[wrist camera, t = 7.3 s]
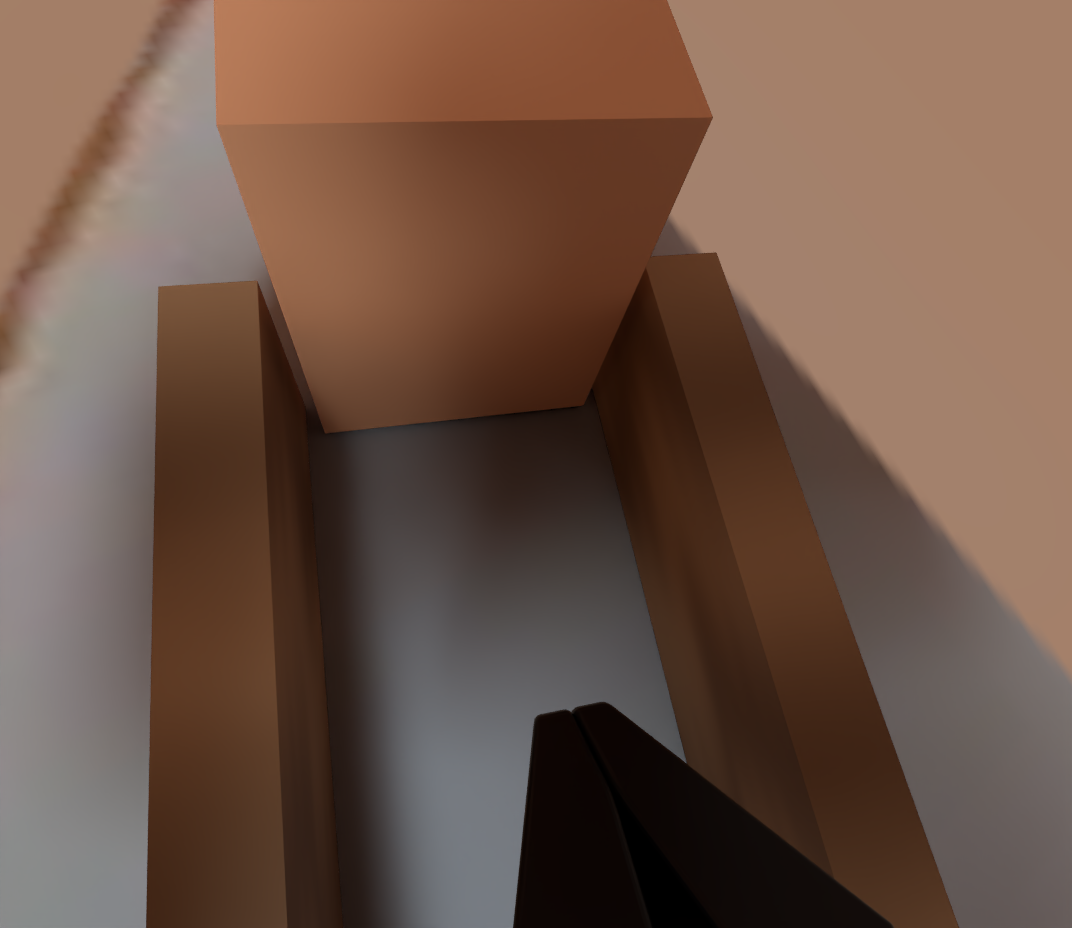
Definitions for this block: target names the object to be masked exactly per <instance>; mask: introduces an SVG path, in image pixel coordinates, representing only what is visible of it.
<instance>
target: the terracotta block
mask: <svg viewBox="0 0 1072 928" xmlns="http://www.w3.org/2000/svg"><path fill="white" fill-rule="evenodd" d="M214 30H215V76H216V122H217V128H218V130H219V133H220V136H221V139H222V142H223V145H224V147H225V150H226V153H227V156H228V159H229V162H230V165H231V167H232V170H233V173H234V176H235V179H236V182H237V184H238V187H239V190H240V193H241V196H242V199H243V202H244V204H245V207H246V210H247V213H248V216H249V219H250V221H251V224H252V227H253V230H254V233H255V236H256V239H257V241H258V244H259V247H260V250H261V253H262V256H263V258H264V261H265V264H266V267H267V270H268V273H269V275H270V278H271V281H272V284H273V287H274V290H275V293H276V295H277V298H278V301H279V304H280V307H281V310H282V312H283V315H284V318H285V321H286V324H287V327H288V330H289V332H290V335H291V338H292V341H293V344H294V347H295V349H296V352H297V355H298V358H299V361H300V364H301V367H302V369H303V372H304V375H305V378H306V381H307V384H308V386H309V389H310V392H311V395H312V398H313V401H314V404H315V406H316V409H317V412H318V415H319V418H320V421H321V423H322V426H323V429H324V432H325V433H333V432H343V431H352V430H361V429H370V428H380V427H389V426H398V425H407V424H417V423H426V422H435V421H444V420H454V419H463V418H472V417H481V416H491V415H500V414H509V413H518V412H528V411H537V410H546V409H555V408H564V407H574V406H583V405H584V403H585V401H586V399H587V397H588V394H589V392H590V390H591V388H592V385H593V383H594V381H595V379H596V377H597V374H598V372H599V370H600V368H601V365H602V363H603V361H604V359H605V356H606V354H607V352H608V350H609V348H610V345H611V343H612V341H613V339H614V336H615V334H616V332H617V330H618V328H619V325H620V323H621V321H622V319H623V316H624V314H625V312H626V310H627V307H628V305H629V303H630V301H631V299H632V296H633V294H634V292H635V290H636V287H637V285H638V283H639V281H640V279H641V276H642V274H643V272H644V270H645V267H646V265H647V263H648V261H649V259H650V256H651V254H652V252H653V250H654V247H655V245H656V243H657V241H658V238H659V236H660V234H661V232H662V230H663V227H664V225H665V223H666V221H667V218H668V216H669V214H670V212H671V209H672V207H673V205H674V203H675V200H676V198H677V196H678V194H679V192H680V189H681V187H682V185H683V183H684V181H685V178H686V176H687V174H688V172H689V169H690V167H691V165H692V163H693V161H694V158H695V156H696V154H697V152H698V149H699V147H700V145H701V143H702V140H703V138H704V136H705V134H706V132H707V129H708V127H709V125H710V123H711V120H712V118H713V117H712V114H711V111H710V109H709V107H708V104H707V101H706V99H705V96H704V94H703V91H702V88H701V86H700V84H699V81H698V78H697V76H696V73H695V71H694V68H693V66H692V63H691V61H690V58H689V55H688V53H687V50H686V48H685V45H684V43H683V40H682V38H681V35H680V33H679V30H678V28H677V25H676V22H675V20H674V17H673V15H672V12H671V10H670V7H669V5H668V2H667V0H214Z"/></svg>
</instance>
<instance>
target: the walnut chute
mask: <svg viewBox="0 0 1072 928" xmlns="http://www.w3.org/2000/svg"><path fill="white" fill-rule="evenodd" d="M592 388H593V392H594V396H595V400H596V404H597V408H598V412H599V416H600V420H601V424H602V428H603V432H604V436H605V440H606V444H607V448H608V451H609V455H610V459H611V463H612V467H613V471H614V475H615V479H616V483H617V487H618V491H619V495H620V499H621V503H622V507H623V511H624V515H625V519H626V523H627V527H628V531H629V535H630V539H631V543H632V547H633V551H634V555H635V559H636V563H637V567H638V571H639V575H640V578H641V582H642V586H643V590H644V594H645V598H646V602H647V606H648V610H649V614H650V618H651V622H652V626H653V630H654V634H655V638H656V642H657V646H658V650H659V654H660V658H661V662H662V666H663V670H664V674H665V678H666V682H667V686H668V690H669V694H670V698H671V701H672V705H673V709H674V713H675V717H676V721H677V725H678V729H679V733H680V737H681V741H682V745H683V749H684V753H685V757H686V761H687V764H688V765H689V766H690V767H691V768H693V769H694V770H695V771H697V772H698V773H699V774H700V775H702V776H703V777H704V778H706V779H707V780H708V781H709V782H711V783H712V784H713V785H715V786H716V787H717V788H718V789H720V790H721V791H722V792H724V793H725V794H726V795H727V796H729V797H730V798H731V799H733V800H734V801H735V802H736V803H738V804H739V805H740V806H742V807H743V808H744V809H745V810H747V811H748V812H749V813H751V814H752V815H753V816H754V817H756V818H757V819H758V820H760V821H761V822H762V823H763V824H765V825H766V826H767V827H769V828H770V829H771V830H772V831H774V832H775V833H776V834H778V835H779V836H780V837H781V838H783V839H784V840H785V841H787V842H788V843H789V844H790V845H792V846H793V847H794V848H796V849H797V850H798V851H799V852H801V853H802V854H803V855H805V856H806V857H807V858H808V859H810V860H811V861H812V862H814V863H815V864H816V865H817V866H819V867H820V868H821V869H823V870H824V871H825V872H826V873H828V874H829V875H830V876H832V877H833V878H834V879H835V880H837V881H838V882H839V883H840V884H842V885H843V886H844V887H846V888H847V889H848V890H849V891H851V892H852V893H853V894H855V895H856V896H857V897H858V898H860V899H861V900H862V901H864V902H865V903H866V904H867V905H869V906H870V907H871V908H873V909H874V910H875V911H876V912H878V913H879V914H880V915H882V916H883V917H884V918H885V919H887V920H888V921H889V922H891V923H892V924H893V926H894V928H959V926H958V924H957V921H956V918H955V915H954V913H953V910H952V907H951V904H950V901H949V899H948V896H947V893H946V890H945V888H944V885H943V882H942V879H941V876H940V874H939V871H938V868H937V865H936V862H935V860H934V857H933V854H932V851H931V849H930V846H929V843H928V840H927V837H926V835H925V832H924V829H923V826H922V823H921V821H920V818H919V815H918V812H917V810H916V807H915V804H914V801H913V798H912V796H911V793H910V790H909V787H908V785H907V782H906V779H905V776H904V773H903V771H902V768H901V765H900V762H899V759H898V757H897V754H896V751H895V748H894V746H893V743H892V740H891V737H890V734H889V732H888V729H887V726H886V723H885V720H884V718H883V715H882V712H881V709H880V707H879V704H878V701H877V698H876V695H875V693H874V690H873V687H872V684H871V682H870V679H869V676H868V673H867V670H866V668H865V665H864V662H863V659H862V656H861V654H860V651H859V648H858V645H857V643H856V640H855V637H854V634H853V631H852V629H851V626H850V623H849V620H848V618H847V615H846V612H845V609H844V606H843V604H842V601H841V598H840V595H839V592H838V590H837V587H836V584H835V581H834V579H833V576H832V573H831V570H830V567H829V565H828V562H827V559H826V556H825V553H824V551H823V548H822V545H821V542H820V540H819V537H818V534H817V531H816V528H815V526H814V523H813V520H812V517H811V515H810V512H809V509H808V506H807V503H806V501H805V498H804V495H803V492H802V489H801V487H800V484H799V481H798V478H797V476H796V473H795V470H794V467H793V464H792V462H791V459H790V456H789V453H788V451H787V448H786V445H785V442H784V439H783V437H782V434H781V431H780V428H779V425H778V423H777V420H776V417H775V414H774V412H773V409H772V406H771V403H770V400H769V398H768V395H767V392H766V389H765V386H764V384H763V381H762V378H761V375H760V373H759V370H758V367H757V364H756V361H755V359H754V356H753V353H752V350H751V348H750V345H749V342H748V339H747V336H746V334H745V331H744V328H743V325H742V322H741V320H740V317H739V314H738V311H737V309H736V306H735V303H734V300H733V297H732V295H731V292H730V289H729V286H728V283H727V281H726V278H725V275H724V272H723V270H722V267H721V264H720V261H719V259H718V256H717V253H702V254H685V255H669V256H653V257H650V259H649V261H648V263H647V265H646V267H645V270H644V272H643V274H642V276H641V279H640V281H639V283H638V285H637V287H636V290H635V292H634V294H633V296H632V299H631V301H630V303H629V305H628V307H627V310H626V312H625V314H624V316H623V319H622V321H621V323H620V325H619V328H618V330H617V332H616V334H615V336H614V339H613V341H612V343H611V345H610V348H609V350H608V352H607V354H606V356H605V359H604V361H603V363H602V365H601V368H600V370H599V372H598V374H597V377H596V379H595V381H594V383H593V385H592ZM146 928H343V917H342V903H341V889H340V876H339V862H338V848H337V834H336V821H335V807H334V793H333V779H332V765H331V752H330V738H329V724H328V710H327V697H326V683H325V669H324V655H323V642H322V628H321V614H320V600H319V586H318V573H317V559H316V545H315V531H314V518H313V504H312V490H311V476H310V463H309V449H308V435H307V421H306V408H305V404H304V402H303V399H302V397H301V394H300V391H299V389H298V386H297V383H296V381H295V378H294V376H293V373H292V370H291V368H290V365H289V363H288V360H287V357H286V355H285V352H284V349H283V347H282V344H281V342H280V339H279V336H278V334H277V331H276V329H275V326H274V323H273V321H272V318H271V315H270V313H269V310H268V308H267V305H266V302H265V300H264V297H263V295H262V292H261V289H260V287H259V284H258V281H244V282H228V283H211V284H195V285H178V286H162V287H158V338H157V391H156V443H155V496H154V548H153V600H152V653H151V705H150V757H149V810H148V862H147V914H146Z"/></svg>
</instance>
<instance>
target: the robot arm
mask: <svg viewBox="0 0 1072 928" xmlns="http://www.w3.org/2000/svg"><path fill="white" fill-rule="evenodd" d="M513 928H894V926H893V924H892V923H891V922H889V921H888V920H887V919H885V918H884V917H883V916H882V915H880V914H879V913H878V912H876V911H875V910H874V909H873V908H871V907H870V906H869V905H867V904H866V903H865V902H864V901H862V900H861V899H860V898H858V897H857V896H856V895H855V894H853V893H852V892H851V891H849V890H848V889H847V888H846V887H844V886H843V885H842V884H840V883H839V882H838V881H837V880H835V879H834V878H833V877H832V876H830V875H829V874H828V873H826V872H825V871H824V870H823V869H821V868H820V867H819V866H817V865H816V864H815V863H814V862H812V861H811V860H810V859H808V858H807V857H806V856H805V855H803V854H802V853H801V852H799V851H798V850H797V849H796V848H794V847H793V846H792V845H790V844H789V843H788V842H787V841H785V840H784V839H783V838H781V837H780V836H779V835H778V834H776V833H775V832H774V831H772V830H771V829H770V828H769V827H767V826H766V825H765V824H763V823H762V822H761V821H760V820H758V819H757V818H756V817H754V816H753V815H752V814H751V813H749V812H748V811H747V810H745V809H744V808H743V807H742V806H740V805H739V804H738V803H736V802H735V801H734V800H733V799H731V798H730V797H729V796H727V795H726V794H725V793H724V792H722V791H721V790H720V789H718V788H717V787H716V786H715V785H713V784H712V783H711V782H709V781H708V780H707V779H706V778H704V777H703V776H702V775H700V774H699V773H698V772H697V771H695V770H694V769H693V768H691V767H690V766H689V765H688V764H686V763H685V762H684V761H682V760H681V759H680V758H679V757H677V756H676V755H675V754H673V753H672V752H671V751H670V750H668V749H667V748H666V747H664V746H663V745H662V744H661V743H659V742H658V741H657V740H655V739H654V738H653V737H652V736H650V735H649V734H648V733H646V732H645V731H644V730H643V729H641V728H640V727H639V726H638V725H636V724H635V723H634V722H632V721H631V720H630V719H629V718H627V717H626V716H625V715H623V714H622V713H621V712H620V711H618V710H617V709H616V708H614V707H613V706H612V705H610V704H608V703H606V702H598V703H594V704H589V705H584V706H579V707H576V708H574V709H573V710H572V712H570V711H568V710H559V711H555V712H550V713H545V714H540V715H538V716H537V717H536V718H535V720H534V726H533V736H532V746H531V756H530V766H529V776H528V786H527V795H526V805H525V815H524V825H523V835H522V845H521V855H520V865H519V874H518V884H517V894H516V904H515V914H514V924H513Z"/></svg>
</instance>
